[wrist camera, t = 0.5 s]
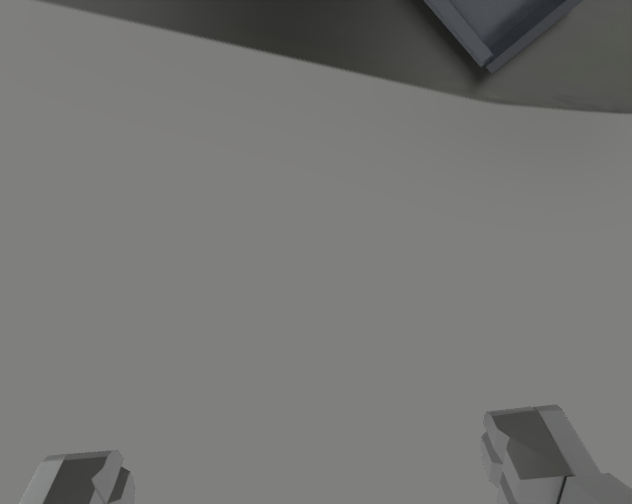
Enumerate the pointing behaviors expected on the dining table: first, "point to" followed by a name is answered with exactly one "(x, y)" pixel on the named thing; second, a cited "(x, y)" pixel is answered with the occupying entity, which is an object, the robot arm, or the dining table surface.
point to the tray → (498, 25)
